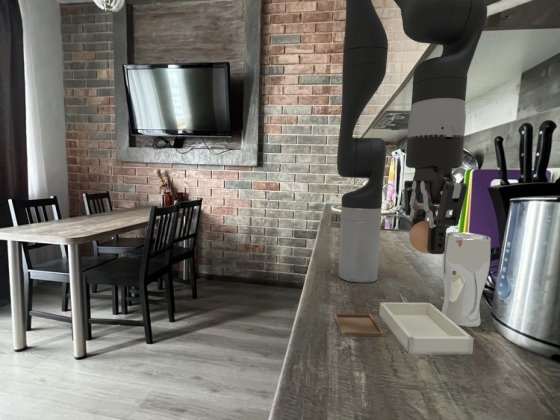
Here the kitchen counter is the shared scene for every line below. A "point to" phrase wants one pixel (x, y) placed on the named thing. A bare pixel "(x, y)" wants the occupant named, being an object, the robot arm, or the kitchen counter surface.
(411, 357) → the kitchen counter surface
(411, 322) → the tray
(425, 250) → the egg
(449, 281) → the beer glass
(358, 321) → the holder
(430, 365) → the kitchen counter surface
